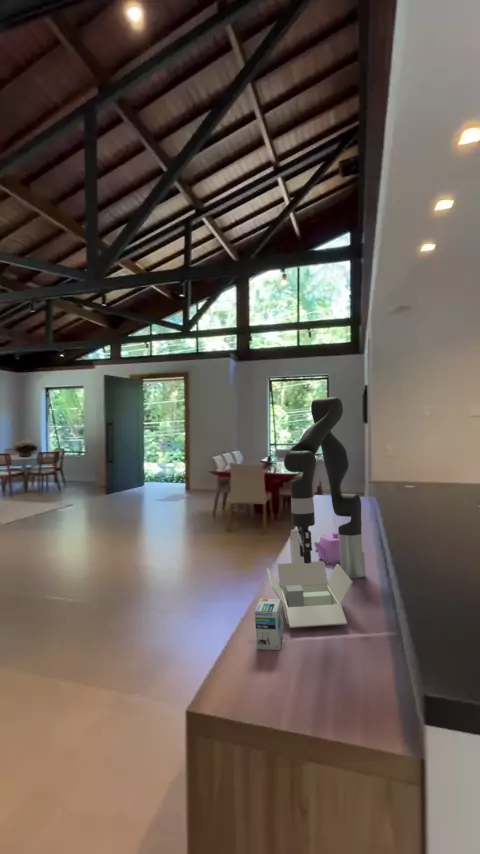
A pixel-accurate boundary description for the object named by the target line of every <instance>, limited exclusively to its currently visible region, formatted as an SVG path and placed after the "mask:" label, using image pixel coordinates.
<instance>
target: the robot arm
mask: <svg viewBox="0 0 480 854" xmlns="http://www.w3.org/2000/svg"><path fill="white" fill-rule="evenodd" d="M310 409H311V410H310V411H311V416H312V420H313V423H314V424H312V425H311V426H309V427H308V428H307V429H306V430H305V432H304V433H302V436H301V438H300V440H298V442H296V443H295V445H293V446H292V447H291V448H290V449H289V450H288V451H287V453H286V454H285V456H284V459H283V465H284V468H285V469H286V470H287V471H288V472H291V473H302V476H301V478H297V479H293V480H291V482H290V495H291V503H290V505H291V507H290V508H291V522H292V523H291V524H292V525H293V527H296V530H297V529H298V530H297V533H298V542H299V545H300V556H301V557H304V563H311V562H312V551H313V545H312V533H311V531H310V527H312V526H315V524H316V522H315V521H316V520H315V505H314V497H313V494H314V493H313V481H314V480H313V479H314V474H315V471H316V468H317V467H316V466H317V458H316V454H317V452H318V450H320V448H321V451H322V452H321V453H322V457H323V462H324V467H325V469H326V470H325V471H326V475H327V479H328V484H329V489H330V496H331V497H330V498H331V503H332V504H331V505H332V510H333V513H334V514H335V515H336V516H337V517H347V518H349V517H350V521H349V522H346V523H343V524H340V525H339V526H338V528H337V532H338V533H339V550H340V563H339V566H340V567H341V568H342V569H343V571H344V572H345V573H346V574H347V575H348V577H349V578H350V579H351V580H353V579H361V578H365V577H366V562H365V560H366V559H365V552H364V551H363V536H362V535H363V534H362V524H363V523H362V500H361V497H360V495H358V493H357V494H356V493H342V490H341V489H342V488H341V486H342V481H343V480H344V479H345V476H346V474H347V473H348V469H349V464H350V463H349V459H348V454H347V451H346V447H345V446H344V445H343V444H342V443H341V441H340V440H339V439H338V438H337V437H336V436H335V435H334V434H333V432H332V429H334V427H335V426H336V424H337V423H338V422H339V421H340V420H341V418H342V416H343V411H344V406H343V403H342V400H341V399H340V398H338V397H335V396H334V397H331V396H330V397H322V398H321V397H320V398H315V399H313V400H312V401H311V405H310ZM306 545H308V546H309V547H306Z"/></svg>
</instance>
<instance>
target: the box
mask: <svg viewBox="0 0 480 854" xmlns="http://www.w3.org/2000/svg"><path fill="white" fill-rule="evenodd" d="M286 598H287V606H288V607H303V606H318V605H331V596H330V594H329V592H328V591H322V592H306V593H303V589H302V587H301V585H289V586H286Z"/></svg>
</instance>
